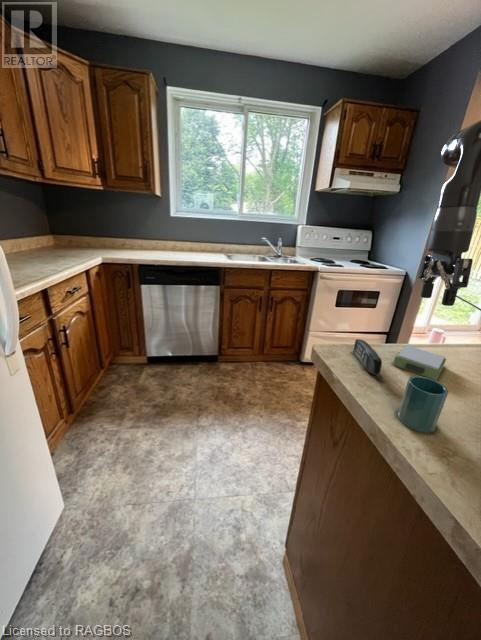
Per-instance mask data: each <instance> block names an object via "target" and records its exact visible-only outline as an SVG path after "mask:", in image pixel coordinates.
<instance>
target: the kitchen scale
mask: <svg viewBox="0 0 481 640" xmlns="http://www.w3.org/2000/svg"><path fill="white" fill-rule="evenodd" d="M393 360H394V362H393V364H392V366H394V367H397V368H400V369H404V370H406V371H409V372H411V373H415V374H417V375H419V376H420V375H421V376H422V377H426V378H430V379H432V380H435V381H437V380H438V379H439V376H440V375H441V372H442V370H443V369H444V367H445V364H446V362H447V358H446V356H444V355H442V354H438V353H434V352H432V351H428V350H424V349H422V348H418V347H414V346H411V345H405V346H404V347H403V348H402V350H401V351H400V352H398V353H397V354H396V356H395V357H394V359H393Z"/></svg>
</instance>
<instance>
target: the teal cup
mask: <svg viewBox="0 0 481 640" xmlns="http://www.w3.org/2000/svg"><path fill="white" fill-rule="evenodd" d="M403 392H404V393H403V396H402V399H401V403H400V405H399V409H398V412H397V417H398V419H399V421H400V422H401V423H402V424H403V425H404V426H406V427H408V428H410V429H411V430H414V431H416V432H420V433H424V434H425V433H432V432H435V429H436V426H437V424H438V421H439V419H440V416H441V413H442V411H443V408H444V405H445V403H446V400H447V398H448V395H449V390H448V387H446V386H445V385H444V384H442V383H441V382H439V381H437V380H434V379H432V378H429V377H426V376H422V375H421V376H420V375H413V376H410V377H409V378H408V380H407V382H406V385H405V389H404V391H403Z"/></svg>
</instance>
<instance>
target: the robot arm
mask: <svg viewBox="0 0 481 640" xmlns="http://www.w3.org/2000/svg"><path fill="white" fill-rule="evenodd" d="M440 159H441V161H442V163H443V165H445V166H446V167H447V168H451V169H455V171H454V173H453V175H452V176H451V177H450V178H448V179H447V180H446V181H445V182H444V183H443V184H442V186H441V189H440V193H439V198H438V203H437V207H436V208H437V209H436V211H435V214H434V217H433V221H432V225H431V229H430V230H431V231H430V236H429V239H428V244H427V251H428V252H431V253H432V254H427V255H426V254H424V255H423V256H422V260H421V264H420V269H419V273H418V279H419V280H421V282H422V288H421V291H420V298H423V299H431V298H432V295H433V292H434V286H435V283H434V282H435V281H436V280H437V279H438V278H440V279H441V280H442V281H443V283H444V286H445V288H444V291H443V296H442V299H441V305H442V306H444V307H453V306H454V305H455V302H456V299H459V300H461V301H462V302H465V303H466V304H468V305H470V306H471V307H474V308H475V309H476V310H478V311H480V312H481V308H480V307H478V306H477V305H475V304H473V303H471V302H469V301H468V300H466V299H465V298H462V297H460V296H459V295H458V291H459V290H460V289H463V288H464V289H465V288H468V285H469V281H470V276H471V271H472V266H473V261H474V260H473V258H462V254H463V253H467V252H469V249H470V246H471V242H472V238H473V234H474V229H475V225H476V221H477V215H478V207H479V203H480V200H481V119H479V120H477V121H476V122H474V123H472V124H470V125H468V126H467V127H464V128H463V129H461V130H459V131H457V132H455V133H454V134H453V135H451V136H450V137H449V138H448V139H447V141H445V143H444V145H443V147H442V149H441V153H440ZM460 279H461V280H460Z"/></svg>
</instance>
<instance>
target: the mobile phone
mask: <svg viewBox="0 0 481 640" xmlns="http://www.w3.org/2000/svg"><path fill="white" fill-rule="evenodd" d="M352 352H353V355H354V356H355V357H356V358H357V359H358V361H359V362H360V363H361V365H362V367H363V369H364V370H365V371H366V372H368V373H369V374H371V375H375V376H376V377H377V378H378V379H379V380H380V381H383V377H382V376H381V369H382V365H383V361H382V359H381V357H380V355H379V354H378V353H377V352H376V350H375V349H373V347H372V346H371V345H370V344H369V343H368V342H367V341H366V340H363V339H360V338H357V339H355V341H354V346H353V350H352Z"/></svg>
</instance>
